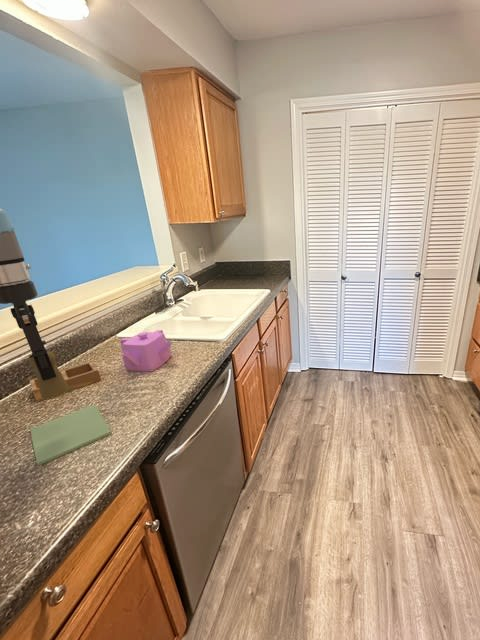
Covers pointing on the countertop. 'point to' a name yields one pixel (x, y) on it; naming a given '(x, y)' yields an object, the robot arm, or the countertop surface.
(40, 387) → the cork
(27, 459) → the countertop surface
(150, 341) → the purple knobbed polyhedron
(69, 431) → the drying mat
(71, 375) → the box
